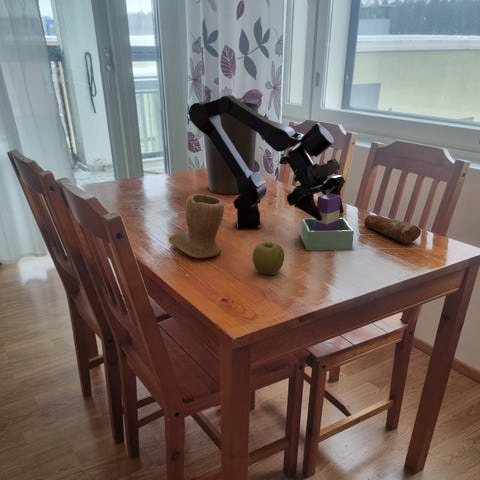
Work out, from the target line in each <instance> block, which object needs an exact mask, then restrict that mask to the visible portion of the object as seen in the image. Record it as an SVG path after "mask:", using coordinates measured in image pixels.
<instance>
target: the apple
mask: <svg viewBox="0 0 480 480" xmlns="http://www.w3.org/2000/svg"><path fill="white" fill-rule="evenodd" d="M251 258H252V264H253V266H254V268H255V270H256V271H257V272H258V273H259V274H263V275H269V276H270V275H274V274H276V273H278V272H279V271H280V270H281V268H282V267H283V265H284V262H285V251H284V249H283V247H282V246H281V245H280V244H279V243H276V242H272V241H264V242H259V243H258V244H257V245H256V246H254V249H253V251H252V257H251Z"/></svg>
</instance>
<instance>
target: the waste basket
mask: <svg viewBox="0 0 480 480" xmlns="http://www.w3.org/2000/svg"><path fill="white" fill-rule="evenodd" d="M241 102H242V103H243V104H245V105H247V106H248V107H250V108H251V109H253V110H254V111H256V112H258V113H259V106H260V104H258V103H254V102H247V101H246V102H245V101H241ZM219 116H220V121H221V126H222V128H223V130H224V132H225V133H226V135H227V136H228V138H229V139H230V141H231V143H232V144H233V146H234V147H235V149H236V150H237V152H238V153H239V155H240V157H241V158H242V160H243V161H244V163H245V164H246V166H247V167H248V169H249V170H250V171H251V172H253V173H255V171H254V170H255V157H256V144H257V132H256V131H254V130H253V129H251V128H250V127H248V126H246V125H245V124H243V123H242V122H240V121H239V120H237V119H236V118H234V117H232V116H231V115H229V114H228V113H226V112H225V113H222V114H219ZM202 134H203V143H204V151H205V152H204V153H205V161H206V171H207V180H208V188H209V191H211V193H216V194H223V195H237V194H238V195H240V194H239V192H238V189H237V184H236V179H235V177H234V176H233V174H232V173H231V171H230V170H229V168H228V166H227V165H226V163H225V162H224V160H223V159H222V157H221V156H220V154H219V153H218V151H217V150H216V148H215V146H214V145H213V143H212V142H211V140H210V139H209V137H208V136H207V135H205V134H204V133H203V132H202Z"/></svg>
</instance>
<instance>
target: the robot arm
mask: <svg viewBox="0 0 480 480" xmlns="http://www.w3.org/2000/svg"><path fill="white" fill-rule="evenodd" d="M242 102H243V101H240V100H239V99H237V98H236V97H235V96H234V95H232V94H228V95H227V94H226V95H223V96H221V97H220V98H217V99H214V100H211V101H210V100H204V101H200V102H194V103H193V104H191V105H190V106H189V109H188V119H189V121H190V122H191V123H192V124H193V125H194V126H195V128H196V129H197V130H198V131H200V132H201V133H202V134H203V133H204V134H205V135H207V136H208V137H209V139H210V140H211V142H212V143H213V145H214V146H215V148H216V150H217V151H218V153H219V154H220V156H221V157H222V159H223V160H224V162H225V163H226V165H227V166H228V168H229V170H230V171H231V173H232V174H233V176H234V177H235V179H236V184H237V189H238V192H239V194H238V196H237V197H236V198H235V199H234V200H233V201H232V204H233V207H234V209H235V210H236V229H238V230H252V229H255V230H256V229H260V225H261V210H260V209H259V205H258V204H260V203H261V201H262V199H263V198H265V196H266V195H267V190H268V188H267V185H266V184H267V181H266V180H264V178H263V177H262V175H261V173H260V172H259V171H256V172H255V171H254V173H253V172H251V171H250V170H249V169H248V167H247V166H246V164H245V163H244V161H243V160H242V158H241V157H240V155H239V153H238V152H237V150H236V149H235V147H234V146H233V144H232V143H231V141H230V139H229V138H228V136H227V135H226V133H225V132H224V130H223V128H222V126H221V121H220V116H219V114H222V113H225V112H226V113H228V114H229V115H231V116H232V117H234V118H236V119H237V120H239V121H240V122H242V123H243V124H245V125H246V126H248V127H250V128H251V129H253V130H254V131H256V134H258V135H260V136H261V138H262V139H263V140H264V142H265V143H266V144H267V145H268V146H269V147H270V148H271V149H273V150H274V151H276V152H278V153H280V152H281V154H280V158H279V161H278V164H279V165H289V167H290V169H291V171H292V172H293V174H294V176H295V177H294V178H293V181H294V183H296V182H298V183H299V184H300V185H295V187H294V188H293V189H292V190H291V191H290V192H289V193H288V194H287V195H286V202H287V203H288V205H289V207H294V208H297V209H299V210H301V211H303V212H304V213H305V214H307V215H309V216H311V217H312V218H315V219H317V220H318V221H321V220H322V216H321V214H320V212H319V210H318V208H317V203H316V202H315V200H314V199H315V198H314V197H315V196H314V195H315V194H318V193H319V194H320V193H321V194H322V195H326V194H329V193H332V194H336V195H340V196H341V197H342V188H344V184H345V183H346V180H345V178H344V176H343V175H339V170H340V168H341V164H340V163H339V161H338V160H337V159H336V158H331V159H329V160H327V161H326V163H323V164H321V165H320V164H319V163H314V162H313V160H312V159H311V157H315V158H319V156H320V155H322V154H323V153H324V152H326V150H328V149H329V148H330V147H332V145H334V143H335V140H334V137H333V135H332V134H331V132H330V131H329V130H327V129H326V128H325V127H324V126H323V125H321V123H320V122H317V123H315V124H314V125H312V126H311V128H310V129H309V130H308V131H307V132H305V134H304V133H301V132H298V131H296V130H295V129H294V128H293V127H291V126H289V125H286V124H283V123H282V122H277V121H274V120H270V119H269V118H267V117H265V116H263V115H262V114H261V113H260V112H259V111H258V112H256V111H254V110H253V109H251V108H250V107H248V106H247V105H245V104H243V103H242ZM204 134H203V135H204ZM287 150H289V151H288V152H286V153H282V152H284V151H287ZM329 176H330V177H329ZM339 213H340V214H342V213H343V214H344V205H343V201H342V199H341V201H340V211H339Z"/></svg>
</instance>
